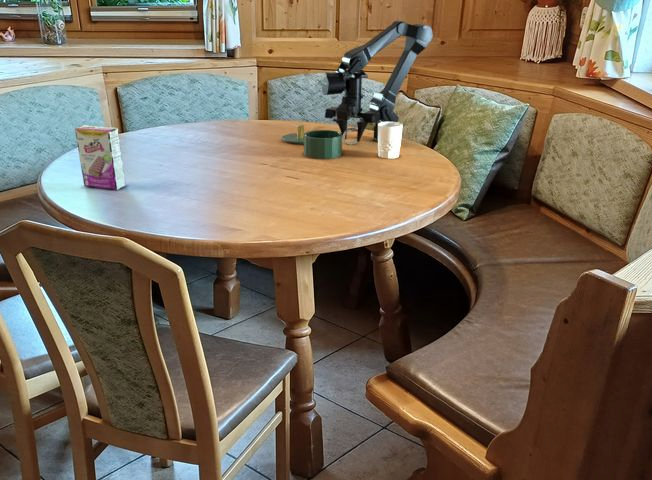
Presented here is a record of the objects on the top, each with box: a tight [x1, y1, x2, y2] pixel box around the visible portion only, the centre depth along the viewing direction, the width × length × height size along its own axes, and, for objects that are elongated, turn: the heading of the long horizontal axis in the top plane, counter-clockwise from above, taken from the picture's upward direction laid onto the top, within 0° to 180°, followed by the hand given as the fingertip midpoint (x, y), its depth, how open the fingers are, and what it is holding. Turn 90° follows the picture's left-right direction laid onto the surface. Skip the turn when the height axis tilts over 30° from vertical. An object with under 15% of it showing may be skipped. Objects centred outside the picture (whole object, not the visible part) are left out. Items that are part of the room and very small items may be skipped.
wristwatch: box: [342, 127, 358, 145], centre depth 249 cm, size 6×3×5 cm, turn 108°
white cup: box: [377, 121, 404, 159], centre depth 233 cm, size 8×8×10 cm
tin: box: [303, 129, 343, 160], centre depth 236 cm, size 12×12×6 cm
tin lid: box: [281, 124, 306, 145], centre depth 253 cm, size 13×13×5 cm
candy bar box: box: [74, 124, 126, 191], centre depth 204 cm, size 11×5×16 cm, turn 71°
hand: (351, 140), depth 249 cm, fingers open, 5 cm apart
